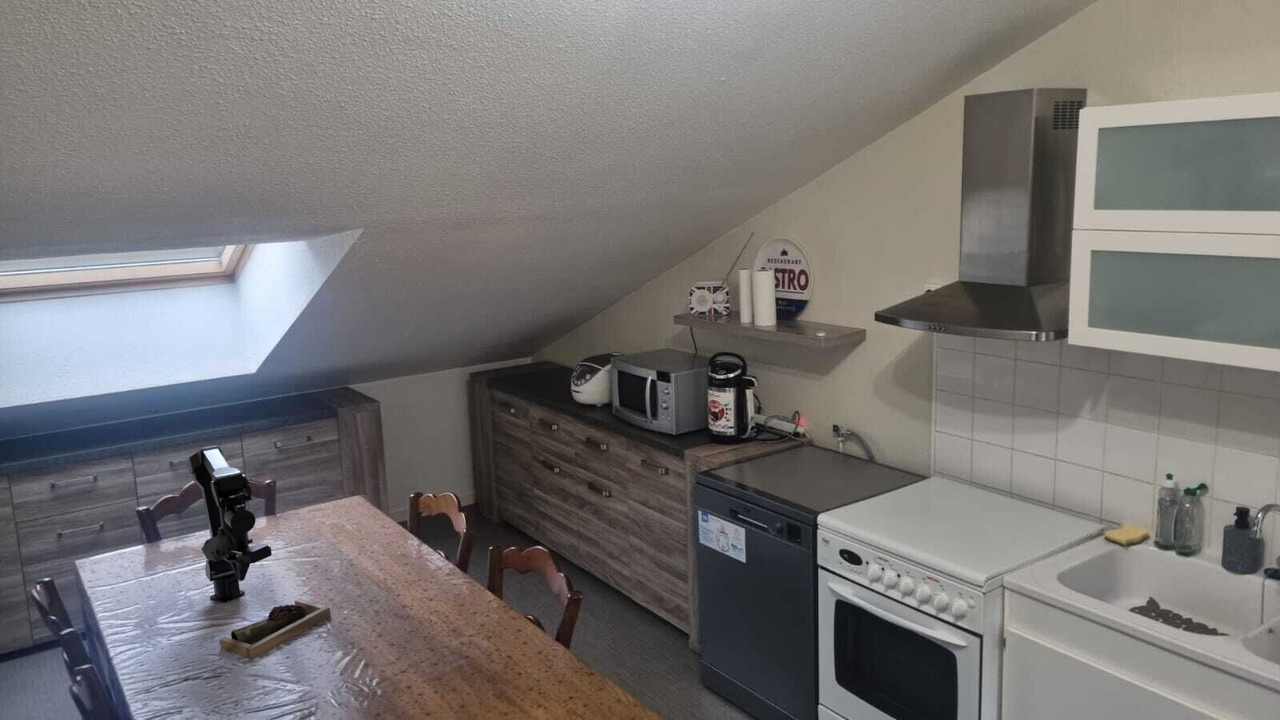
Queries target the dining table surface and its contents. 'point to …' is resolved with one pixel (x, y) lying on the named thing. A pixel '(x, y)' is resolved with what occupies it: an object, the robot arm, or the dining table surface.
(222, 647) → the cradle frame
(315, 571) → the dining table surface
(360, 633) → the dining table surface
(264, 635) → the mossy log
